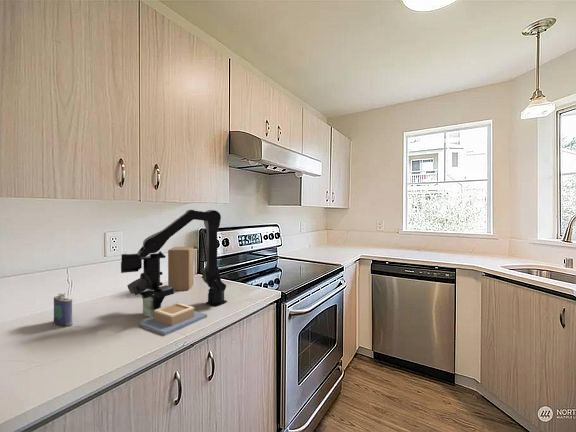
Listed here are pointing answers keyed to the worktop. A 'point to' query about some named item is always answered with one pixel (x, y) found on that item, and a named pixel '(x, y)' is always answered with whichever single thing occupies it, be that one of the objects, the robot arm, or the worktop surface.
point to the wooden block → (181, 268)
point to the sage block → (148, 307)
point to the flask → (62, 311)
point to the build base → (170, 328)
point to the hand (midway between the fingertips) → (152, 310)
